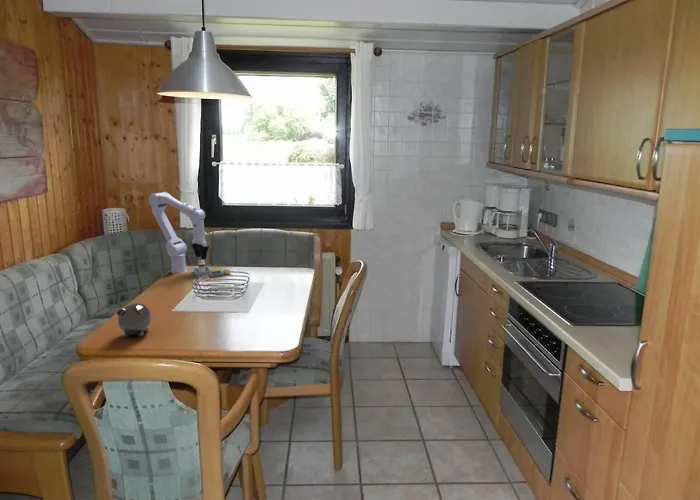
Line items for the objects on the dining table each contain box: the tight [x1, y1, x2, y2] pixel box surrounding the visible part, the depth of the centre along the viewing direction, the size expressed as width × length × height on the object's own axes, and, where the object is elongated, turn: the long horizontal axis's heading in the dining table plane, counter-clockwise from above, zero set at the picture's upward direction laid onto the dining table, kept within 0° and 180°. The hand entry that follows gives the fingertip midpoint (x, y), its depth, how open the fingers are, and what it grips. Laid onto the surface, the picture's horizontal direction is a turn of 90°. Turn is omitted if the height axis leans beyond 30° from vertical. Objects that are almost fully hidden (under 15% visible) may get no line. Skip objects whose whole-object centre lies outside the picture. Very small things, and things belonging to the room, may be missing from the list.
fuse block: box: [209, 268, 233, 279], centre depth 277 cm, size 8×10×3 cm
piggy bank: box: [116, 302, 153, 338], centre depth 195 cm, size 11×15×12 cm
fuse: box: [197, 259, 206, 272], centre depth 283 cm, size 3×3×7 cm
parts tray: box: [192, 266, 213, 277], centre depth 283 cm, size 10×8×2 cm
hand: (200, 258), depth 282 cm, fingers open, 7 cm apart
